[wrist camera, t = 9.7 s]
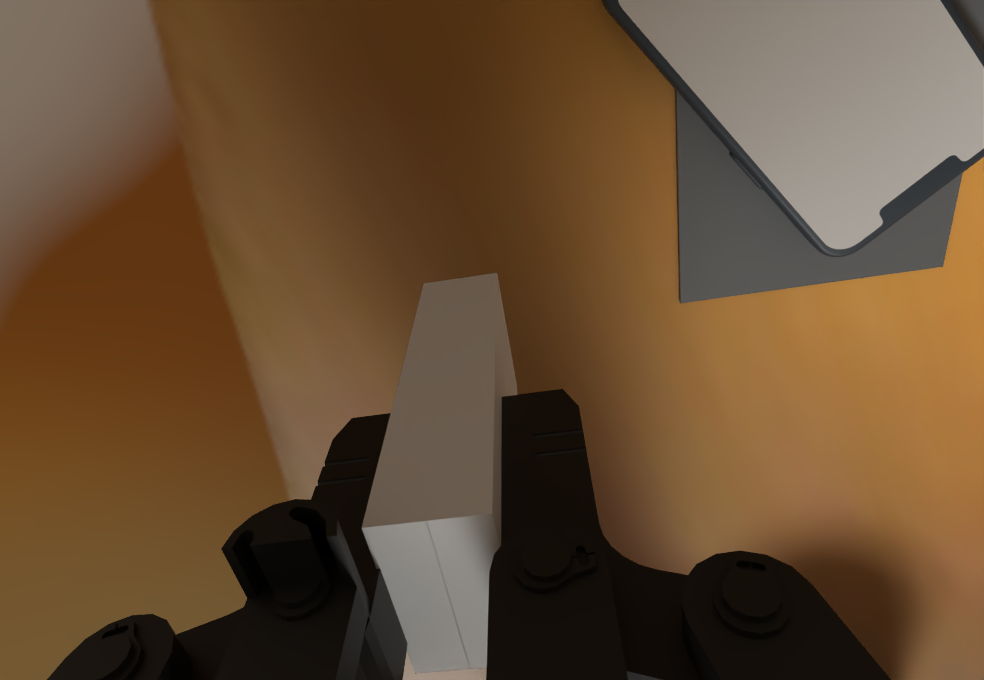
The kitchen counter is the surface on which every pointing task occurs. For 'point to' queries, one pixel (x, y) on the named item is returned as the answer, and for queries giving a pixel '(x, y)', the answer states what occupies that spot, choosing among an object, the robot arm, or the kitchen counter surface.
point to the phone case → (826, 100)
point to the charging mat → (783, 221)
